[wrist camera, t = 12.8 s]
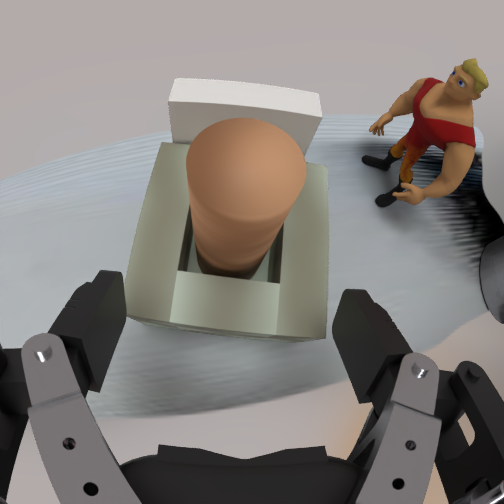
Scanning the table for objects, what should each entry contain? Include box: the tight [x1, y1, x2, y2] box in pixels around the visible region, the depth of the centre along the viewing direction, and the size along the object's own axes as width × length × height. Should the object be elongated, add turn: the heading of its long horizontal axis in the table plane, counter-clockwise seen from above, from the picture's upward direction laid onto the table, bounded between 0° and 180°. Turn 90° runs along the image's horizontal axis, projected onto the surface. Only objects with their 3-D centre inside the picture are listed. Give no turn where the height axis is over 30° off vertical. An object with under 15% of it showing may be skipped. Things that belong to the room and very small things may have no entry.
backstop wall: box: [168, 78, 322, 156], centre depth 18 cm, size 8×2×9 cm, turn 88°
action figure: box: [362, 59, 488, 207], centre depth 18 cm, size 10×4×15 cm, turn 7°
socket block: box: [124, 142, 329, 342], centre depth 18 cm, size 10×10×6 cm
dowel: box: [186, 118, 306, 280], centre depth 14 cm, size 4×4×10 cm
